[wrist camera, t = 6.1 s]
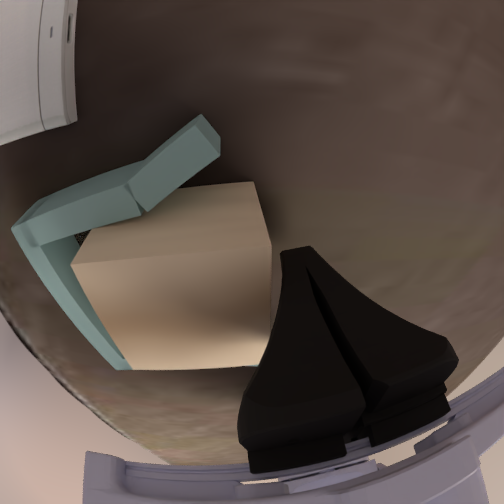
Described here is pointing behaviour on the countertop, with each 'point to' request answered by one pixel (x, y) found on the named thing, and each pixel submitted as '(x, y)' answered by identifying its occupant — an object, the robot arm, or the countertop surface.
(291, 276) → the robot arm
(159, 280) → the birch block
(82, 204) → the dock
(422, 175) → the countertop surface
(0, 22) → the hard drive
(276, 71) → the countertop surface
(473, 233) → the countertop surface
